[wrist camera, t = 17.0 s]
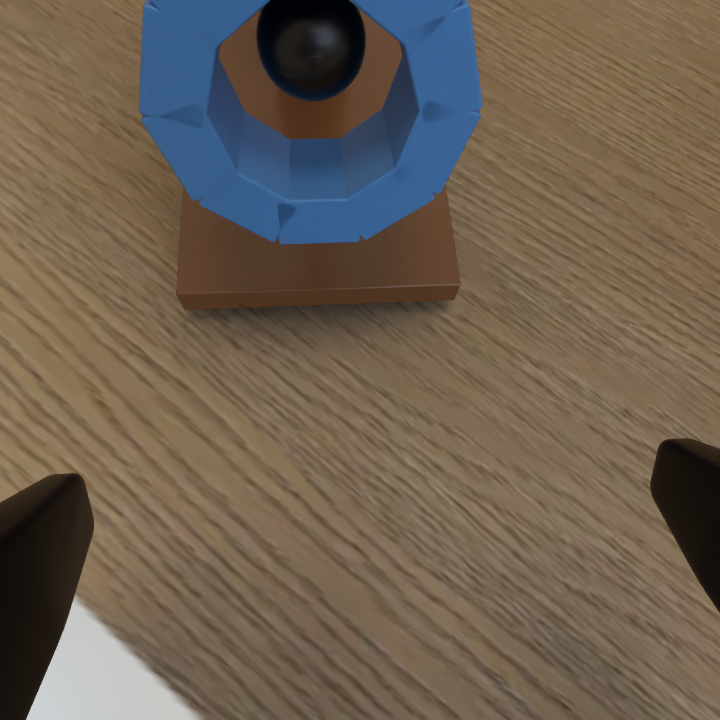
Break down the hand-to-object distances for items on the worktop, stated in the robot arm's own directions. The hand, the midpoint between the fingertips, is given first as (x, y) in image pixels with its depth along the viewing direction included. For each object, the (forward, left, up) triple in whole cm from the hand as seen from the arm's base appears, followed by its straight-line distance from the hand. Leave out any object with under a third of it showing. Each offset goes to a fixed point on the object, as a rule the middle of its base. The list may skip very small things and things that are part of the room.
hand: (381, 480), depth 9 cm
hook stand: (+13, +9, -10) cm, 18 cm away
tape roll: (+7, +5, -4) cm, 10 cm away
